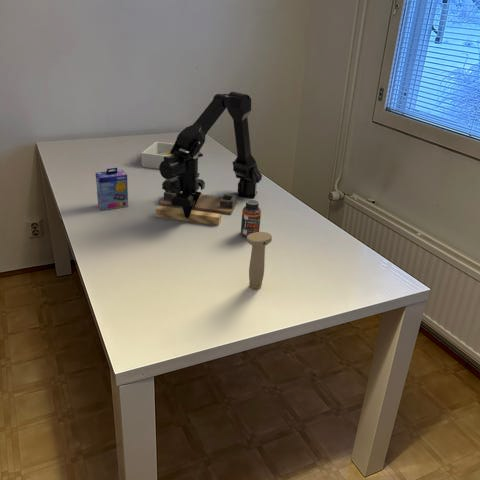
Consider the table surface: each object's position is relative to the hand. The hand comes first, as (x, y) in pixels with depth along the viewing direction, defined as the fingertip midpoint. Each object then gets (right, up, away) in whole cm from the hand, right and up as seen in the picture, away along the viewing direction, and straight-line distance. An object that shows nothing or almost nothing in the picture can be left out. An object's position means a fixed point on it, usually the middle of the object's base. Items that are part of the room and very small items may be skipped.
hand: (188, 215), depth 165 cm
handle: (+21, -21, -34) cm, 45 cm away
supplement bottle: (+21, -7, -7) cm, 23 cm away
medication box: (-15, +26, +52) cm, 60 cm away
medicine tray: (-14, +26, +51) cm, 59 cm away
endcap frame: (+3, +5, +13) cm, 14 cm away
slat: (0, -1, +1) cm, 2 cm away
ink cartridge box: (-27, +3, +7) cm, 28 cm away
